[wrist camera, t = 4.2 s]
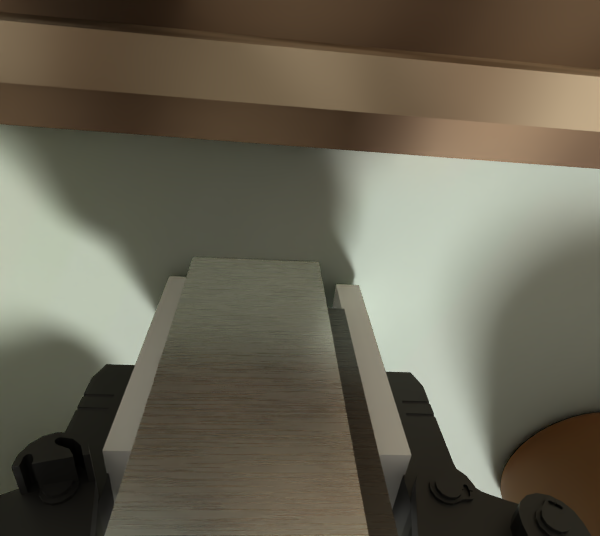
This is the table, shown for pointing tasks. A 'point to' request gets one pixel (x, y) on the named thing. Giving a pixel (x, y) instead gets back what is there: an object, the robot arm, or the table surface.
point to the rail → (315, 73)
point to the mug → (560, 467)
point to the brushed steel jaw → (255, 415)
